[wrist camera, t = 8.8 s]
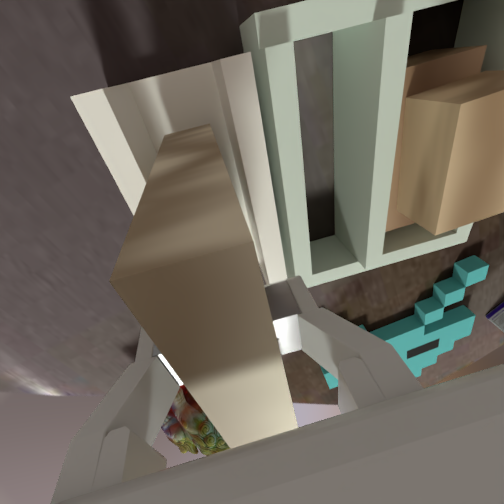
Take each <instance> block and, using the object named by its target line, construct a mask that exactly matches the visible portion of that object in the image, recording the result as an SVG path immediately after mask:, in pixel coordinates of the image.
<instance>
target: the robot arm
mask: <svg viewBox="0 0 504 504" xmlns="http://www.w3.org/2000/svg"><path fill="white" fill-rule="evenodd" d="M264 287H265V291H266V296H267V300H268V304H269V308H270V312H271V316H272V321H273V325H274V329H275V333H276V337H277V342H278V346H279V350H280V354H281V355H282V354H286V353H290V352H294V351H297V350H301V349H302V350H303V351H304V352H305V353H306V354H308V355H309V356H310V357H311V358H312V359H314V360H315V361H316V362H317V363H318V364H320V365H321V366H322V367H323V368H324V369H326V370H327V371H328V372H329V373H330V374H332V375H333V376H334V377H335V378H337V379H338V407H339V409H340V412H341V415H337V416H334V417H331V418H328V419H324V420H321V421H318V422H315V423H312V424H309V425H305V426H302V427H299V428H295V429H292V430H289V431H286V432H283V433H279V434H276V435H273V436H270V437H266V438H263V439H260V440H257V441H254V442H250V443H247V444H244V445H241V446H238V447H234V448H231V449H228V450H225V451H222V452H218V453H215V454H212V455H209V456H206V457H202V458H199V459H196V460H193V461H189V462H186V463H183V464H180V465H177V466H173V467H170V468H167V469H166V464H167V460H166V458H165V457H164V456H163V455H161V454H160V453H159V452H158V451H156V450H155V449H154V448H152V445H153V443H154V441H155V439H156V437H157V435H158V433H159V430H160V428H161V426H162V424H163V422H164V420H165V418H166V416H167V414H168V412H169V409H170V407H171V405H172V403H173V401H174V399H175V397H176V395H177V393H178V390H179V388H180V387H179V386H181V385H184V384H183V382H182V381H181V380H180V378H179V377H178V376H177V374H176V373H175V371H174V370H173V369H172V367H171V366H170V364H169V363H168V362H167V360H166V359H165V358H164V356H163V355H162V353H161V352H160V351H159V349H158V348H157V347H156V345H155V344H154V342H153V341H152V340H151V338H150V337H149V336H148V334H147V333H146V331H145V330H144V329H143V327H141V332H140V337H139V343H138V348H137V353H136V358H135V363H132V364H130V365H129V366H128V367H127V369H126V370H125V371H124V373H123V374H122V375H121V377H120V378H119V379H118V380H117V382H116V383H115V384H114V386H113V387H112V388H111V390H110V391H109V392H108V393H107V395H106V396H105V397H104V399H103V400H102V401H101V402H100V404H99V405H98V406H97V408H96V409H95V410H94V412H93V413H92V414H91V415H90V417H89V418H88V419H87V421H86V422H85V423H84V425H83V426H82V427H81V428H80V430H79V431H78V432H77V434H76V435H75V436H74V438H73V439H72V440H71V442H70V445H69V448H68V451H67V454H66V458H65V460H64V463H63V467H62V470H61V473H60V476H59V479H58V482H57V485H56V488H55V491H54V494H53V498H52V501H51V504H504V364H501V365H498V366H495V367H492V368H489V369H485V370H482V371H479V372H475V373H472V374H469V375H466V376H463V377H459V378H456V379H453V380H450V381H446V382H443V383H440V384H437V385H434V386H430V387H427V388H423V387H422V386H421V384H420V383H419V382H418V380H417V379H416V377H415V376H414V375H413V373H412V372H411V371H410V369H409V368H408V367H407V365H406V364H405V362H404V361H403V360H402V358H401V357H400V356H399V354H398V353H397V351H396V350H395V349H394V347H393V346H392V345H391V344H389V343H388V342H386V341H384V340H382V339H380V338H378V337H376V336H375V335H373V334H371V333H369V332H367V331H365V330H364V329H362V328H360V327H358V326H356V325H354V324H352V323H351V322H349V321H347V320H345V319H343V318H341V317H340V316H338V315H336V314H334V313H332V312H330V311H328V310H327V309H325V308H323V307H322V308H319V309H318V307H317V305H316V303H315V301H314V299H313V298H312V296H311V294H310V292H309V290H308V288H307V287H306V285H305V283H304V281H303V279H302V277H301V276H300V275H298V276H294V277H291V278H288V279H286V280H281V281H278V282H275V283H271V284H268V285H265V286H264Z"/></svg>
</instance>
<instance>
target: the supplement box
mask: <svg viewBox="0 0 504 504" xmlns="http://www.w3.org/2000/svg"><path fill="white" fill-rule="evenodd" d="M486 317H487V318H488V319H489V320H490V321H491V322H492V323H493V324H495V325H496V326H497V327H498V328H499V329H500V330H502V331H503V332H504V301H503V302H502V303H501V304H500V305H498V306H497V307H496V308H494V309H493V310H492V311H491V312H489V313H488V314H487V315H486Z"/></svg>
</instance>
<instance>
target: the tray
mask: <svg viewBox="0 0 504 504" xmlns="http://www.w3.org/2000/svg"><path fill="white" fill-rule="evenodd" d="M453 1H457V0H306V1H302V2H298V3H294V4H289V5H285V6H281V7H277V8H273V9H269V10H265V11H261V12H257V13H254V14H253V15H251V16H250V17H249V18H248V19H247V20H246V21H244V22H243V23H242V24H241V25H240V26H239V28H240V33H241V39H242V45H243V51H244V53H247V52H251V57H252V63H253V69H254V75H255V81H256V88H257V94H258V100H259V106H260V112H261V119H262V125H263V131H264V137H265V143H266V150H267V156H268V162H269V168H270V175H271V181H272V187H273V193H274V199H275V206H276V212H277V218H278V224H279V230H280V237H281V243H282V249H283V255H284V261H285V268H286V274H287V277H288V278H291V277H294V276H298V275H300V276H301V277H302V279H303V281H304V283H305V285H306V287H307V288H309V287H312V286H315V285H319V284H322V283H326V282H329V281H333V280H336V279H340V278H343V277H346V276H350V275H353V274H357V273H360V272H364V271H367V270H371V269H374V268H377V267H381V266H384V265H388V264H391V263H395V262H398V261H401V260H405V259H408V258H412V257H415V256H419V255H422V254H426V253H429V252H432V251H436V250H439V249H443V248H446V247H450V246H453V245H457V244H460V243H463V242H466V241H467V238H468V236H469V233H470V230H471V227H472V225H473V223H470V224H467V225H465V226H462V227H459V228H456V229H453V230H450V231H447V232H444V233H441V234H438V235H436V236H435V235H434V234H432V233H431V232H429V231H428V230H426V229H425V228H423V227H421V226H420V225H418V224H417V223H413V224H410V225H407V226H404V227H400V228H397V229H394V230H390V231H387V232H385V230H386V222H387V214H388V206H389V198H390V190H391V183H392V175H393V167H394V159H395V151H396V143H397V135H398V128H399V120H400V112H401V104H402V96H403V88H404V80H405V73H406V65H407V57H408V49H409V41H410V33H411V25H412V18H413V11H417V10H421V9H425V8H429V7H433V6H437V5H441V4H445V3H449V2H453ZM329 32H333V113H334V206H335V235H332V236H329V237H325V238H322V239H318V240H315V241H311V242H310V240H309V228H308V216H307V204H306V191H305V179H304V167H303V155H302V142H301V130H300V118H299V106H298V93H297V81H296V69H295V57H294V44H293V41H297V40H301V39H305V38H309V37H313V36H317V35H321V34H325V33H329ZM481 45H487V48H486V51H485V55H484V59H483V63H482V67H481V71H480V72H483V71H496V70H504V0H464V2H463V7H462V11H461V16H460V21H459V26H458V30H457V35H456V40H455V45H454V48H457V47H469V46H481Z"/></svg>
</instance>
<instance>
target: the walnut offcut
mask: <svg viewBox="0 0 504 504" xmlns="http://www.w3.org/2000/svg"><path fill="white" fill-rule="evenodd" d="M486 48H487V45H481V46H469V47H457V48H445V49H433V50H429V51H426V52H422V53H418V54H415V55H411V56H408V57H407V65H406V73H405V80H404V88H403V96H402V104H401V112H400V120H399V128H398V135H397V143H396V151H395V159H394V167H393V175H392V183H391V190H390V198H389V206H388V214H387V222H386V230H385V232H387V231H390V230H394V229H397V228H400V227H404V226H407V225H410V224H413V223H415V222H414V221H412V220H411V219H409V218H408V217H406V216H405V215H403V214H402V213H400V212H399V211H397V200H398V188H399V175H400V163H401V151H402V139H403V126H404V114H405V102H406V97H409V96H412V95H415V94H418V93H421V92H424V91H427V90H430V89H433V88H436V87H439V86H442V85H445V84H448V83H451V82H454V81H457V80H460V79H463V78H466V77H469V76H472V75H475V74H478V73H480V71H481V67H482V63H483V59H484V55H485V51H486Z"/></svg>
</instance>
